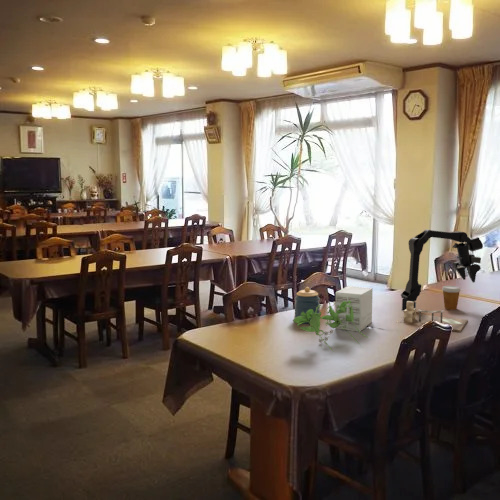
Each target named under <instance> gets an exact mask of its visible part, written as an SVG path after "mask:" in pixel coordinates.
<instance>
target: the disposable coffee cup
mask: <svg viewBox="0 0 500 500" xmlns="http://www.w3.org/2000/svg"><path fill="white" fill-rule="evenodd" d="M441 290H442V295H443V296H442V297H443V304H444V309H445V310H452V311H455V310H457V309H458V303H459V299H460V298H459V297H460V292H461V287H459V286H456V285H444V286H442V288H441Z"/></svg>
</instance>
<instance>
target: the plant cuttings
mask: <svg viewBox="0 0 500 500" xmlns="http://www.w3.org/2000/svg"><path fill="white" fill-rule="evenodd" d="M332 303H333V305H331V302H330V301H329V302H328V306H327V307H326V310H328V311H325V312H326V315H323V316H321V315H322V311H321V310H320V313H319V314H317V313H316V311H317V310H318V309H317V308H318V307H319V306H320V307H319V308H320V309H321V308H322V304H320V305H318V307H316V311H315V313H314V311H313V309H309V310H308V311H307V312H306V314H305V313H304V312H302V313H301V315H303V316H301V315H300V316H298V317H296V318H295V317H294V318H293V320H292V322H294V323H297V324H296V325H297V326H296V327H298V328H299V329H300V330H303V331H306V332H308V333H314V332H315V334H316V335H317V336H319V339H318V342H319V343H320V344H323V343H325V344H326V346H327V347H328V348H329V349H330V350H331V351H333V349H332V348H331V347H330V346H329V344H328V343H327V341H329V338H330V337H331V335H332V334H333V333H334V330H335V329H336V327H338V326H339V325H340V323H341V325H342V320H344V319H342V320H341V321H340V319H339V316H338V314H340V313H345V312H346V307H349V308H350V315H347V314H346V321H347V322H351V321H352V323H353V319H354V314H353V309H352V305H351V307H350V305H346V304H348V303H350V304H351V301H347V302H346V301H343V302H342V303H341V304H340V306H339V305H338V307H339V308H340V310H339V309H338V310H337V311H336V309H337V308H336V307H335V310H334V309H333V306H336V302H335V301H333V302H332ZM312 312H313V313H314V314H313V313H312ZM311 317H312V318H311ZM350 317H351V318H350ZM310 318H311V320H310ZM321 319H322V320H327V321H325V322H324V324H325V326H329V327H330V328H332V329H330V330H328V331H324V330H322V329H320V328H321ZM309 320H310V322H309ZM332 321H333V322H332ZM304 322H309V323H310V324H309V326H300V325H302V324H303V323H304ZM353 324H354V323H353ZM340 327H341V326H340ZM342 327H343V326H342ZM344 327H346V326H344ZM344 327H343V328H342V329H341V330H344ZM355 327H356V326H355ZM356 328H357V327H356ZM357 330H358V329H357ZM358 331H359V330H358ZM358 331H357V332H358ZM346 332H347V333H348V334H349V336H351V338H353V340H356V338H354V336H353V335H352V334H350V333H349V330H346ZM321 333H322V334H321ZM358 333H359V334H361V335H362V336H364V337H365V338H368V336H367V335H365V334H363V333H362V331H359V332H358ZM323 335H324V337H322V336H323ZM356 342H357V344H358V345H360V347H361V344H360V343H359V342H358V341H356Z"/></svg>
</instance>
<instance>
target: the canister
mask: <svg viewBox="0 0 500 500" xmlns="http://www.w3.org/2000/svg"><path fill="white" fill-rule="evenodd" d="M293 298H294V300H295V302H294V318H296V317H298V316H300V315H301V313H302V312H304V313H305V314H306V312H307V311H308V310H309V309H313V311H314V313H315V311H316V307H318V305H321V304H320V300H321V298H320V297H319V292H317V291H316V290H313V289H311V288H310V287H309V286H306V287H305V288H304V289H301V290H299V291H298V292H296V296H295V297H293ZM319 307H321V306H319ZM319 307H318V308H317V309H318V310H317V311H316V313H317V314H319V313H320V311H321V308H319ZM312 313H313V312H312ZM314 313H313V314H314ZM301 316H303V315H301ZM311 318H312V317H311ZM311 318H310V320H311ZM310 320H309V322H310ZM309 322H304V323H302V324H303V325H304V324H305V325H311V324H310V323H309Z"/></svg>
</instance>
